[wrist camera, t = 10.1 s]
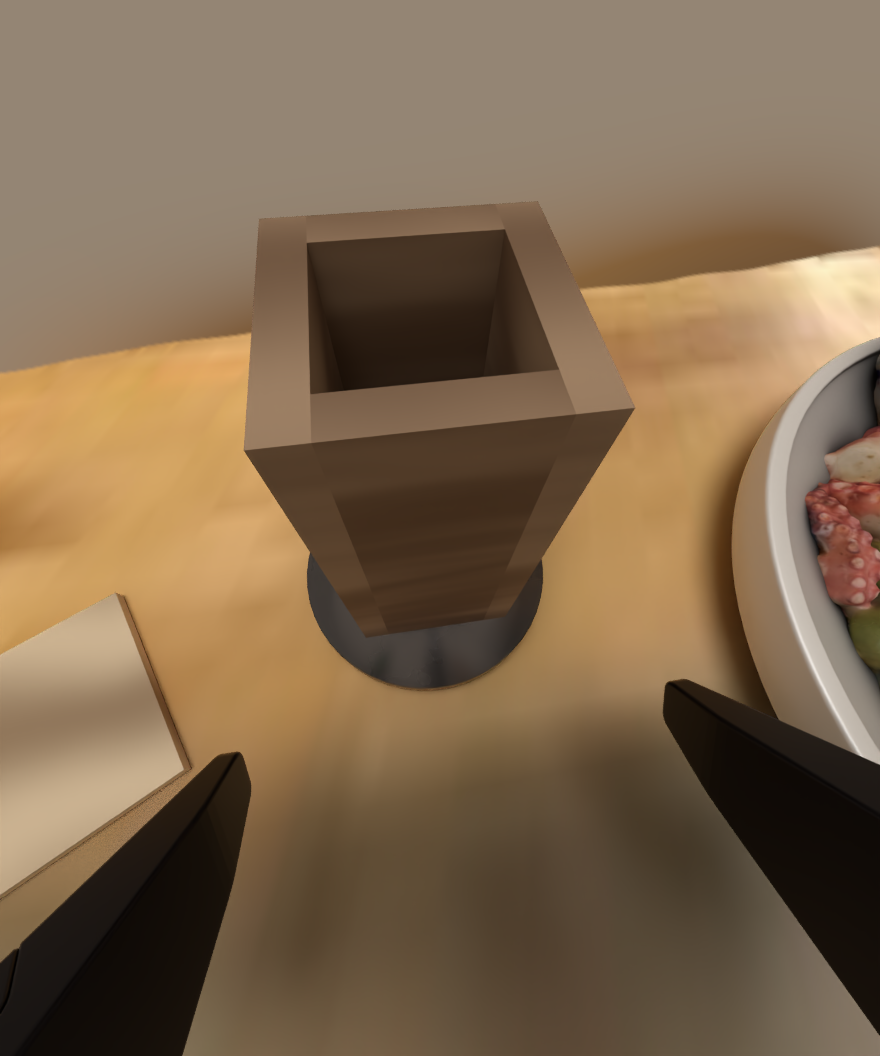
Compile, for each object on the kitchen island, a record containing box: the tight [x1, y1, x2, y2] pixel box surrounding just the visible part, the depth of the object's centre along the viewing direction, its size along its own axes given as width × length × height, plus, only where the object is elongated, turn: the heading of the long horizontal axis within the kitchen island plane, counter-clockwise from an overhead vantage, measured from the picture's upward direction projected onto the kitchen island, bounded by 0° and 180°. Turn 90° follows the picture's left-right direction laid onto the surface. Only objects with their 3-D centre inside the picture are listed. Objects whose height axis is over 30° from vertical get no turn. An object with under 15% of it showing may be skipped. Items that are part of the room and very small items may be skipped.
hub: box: [307, 553, 543, 691], centre depth 17 cm, size 10×10×5 cm
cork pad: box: [0, 593, 191, 899], centre depth 15 cm, size 8×8×1 cm
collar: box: [244, 201, 635, 638], centre depth 13 cm, size 6×6×12 cm
